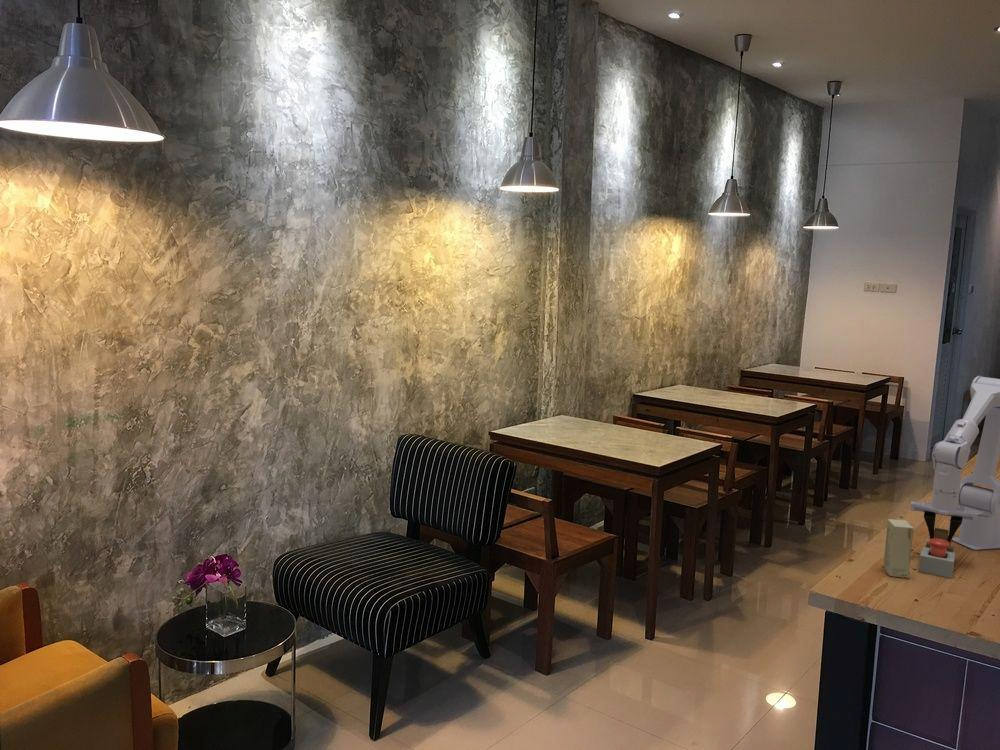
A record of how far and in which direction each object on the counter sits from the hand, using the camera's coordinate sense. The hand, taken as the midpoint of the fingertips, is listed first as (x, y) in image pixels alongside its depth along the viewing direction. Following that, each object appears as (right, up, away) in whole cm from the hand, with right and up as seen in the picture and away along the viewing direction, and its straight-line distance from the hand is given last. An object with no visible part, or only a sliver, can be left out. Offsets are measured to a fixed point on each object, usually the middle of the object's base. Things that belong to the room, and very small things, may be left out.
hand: (939, 543), depth 201 cm
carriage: (0, -4, +1) cm, 4 cm away
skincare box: (-15, -5, -8) cm, 18 cm away
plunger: (-4, -3, -7) cm, 8 cm away
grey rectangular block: (-4, -5, -6) cm, 9 cm away
